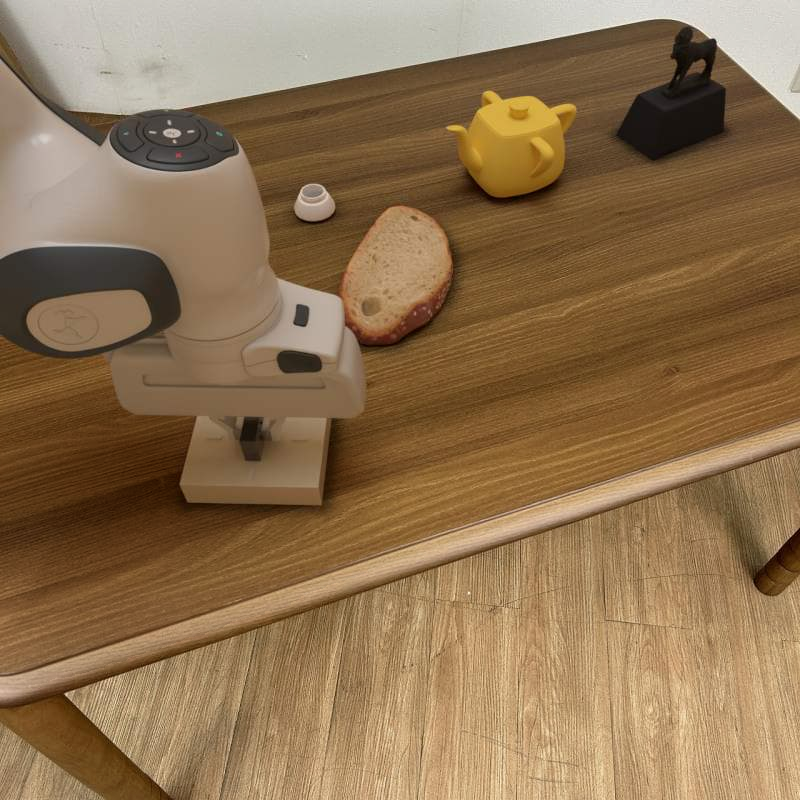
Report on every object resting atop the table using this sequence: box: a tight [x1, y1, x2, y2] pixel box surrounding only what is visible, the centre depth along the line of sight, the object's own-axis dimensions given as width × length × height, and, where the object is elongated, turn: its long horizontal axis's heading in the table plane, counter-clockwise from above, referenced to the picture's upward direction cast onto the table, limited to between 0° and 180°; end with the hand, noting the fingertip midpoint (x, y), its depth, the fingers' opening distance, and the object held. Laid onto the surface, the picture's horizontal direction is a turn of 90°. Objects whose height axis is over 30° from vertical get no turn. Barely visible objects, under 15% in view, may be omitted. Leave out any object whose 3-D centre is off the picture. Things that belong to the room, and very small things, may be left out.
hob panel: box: [179, 416, 333, 506], centre depth 68 cm, size 12×10×3 cm
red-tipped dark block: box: [239, 417, 264, 461], centre depth 65 cm, size 5×1×3 cm, turn 178°
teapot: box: [445, 90, 578, 198], centre depth 92 cm, size 14×13×10 cm
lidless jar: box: [293, 183, 336, 222], centre depth 91 cm, size 5×3×5 cm
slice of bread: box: [336, 205, 454, 346], centre depth 83 cm, size 18×18×4 cm
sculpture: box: [615, 26, 727, 161], centre depth 96 cm, size 8×13×15 cm, turn 119°
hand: (256, 434), depth 66 cm, fingers closed on red-tipped dark block
